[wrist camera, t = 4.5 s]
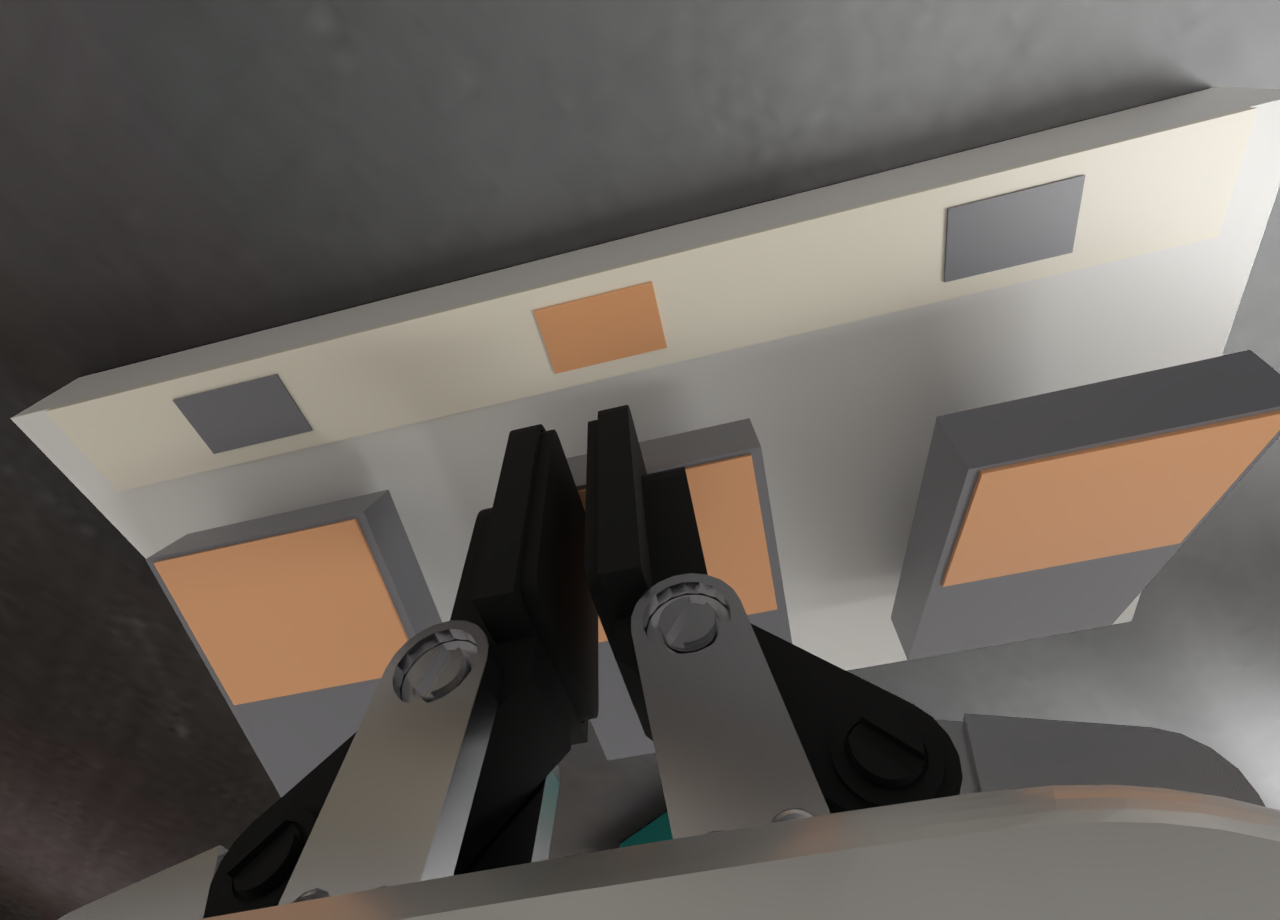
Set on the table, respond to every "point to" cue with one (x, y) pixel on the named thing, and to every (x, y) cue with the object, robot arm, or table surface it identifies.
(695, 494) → the rocker middle
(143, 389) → the switch base
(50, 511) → the table surface
